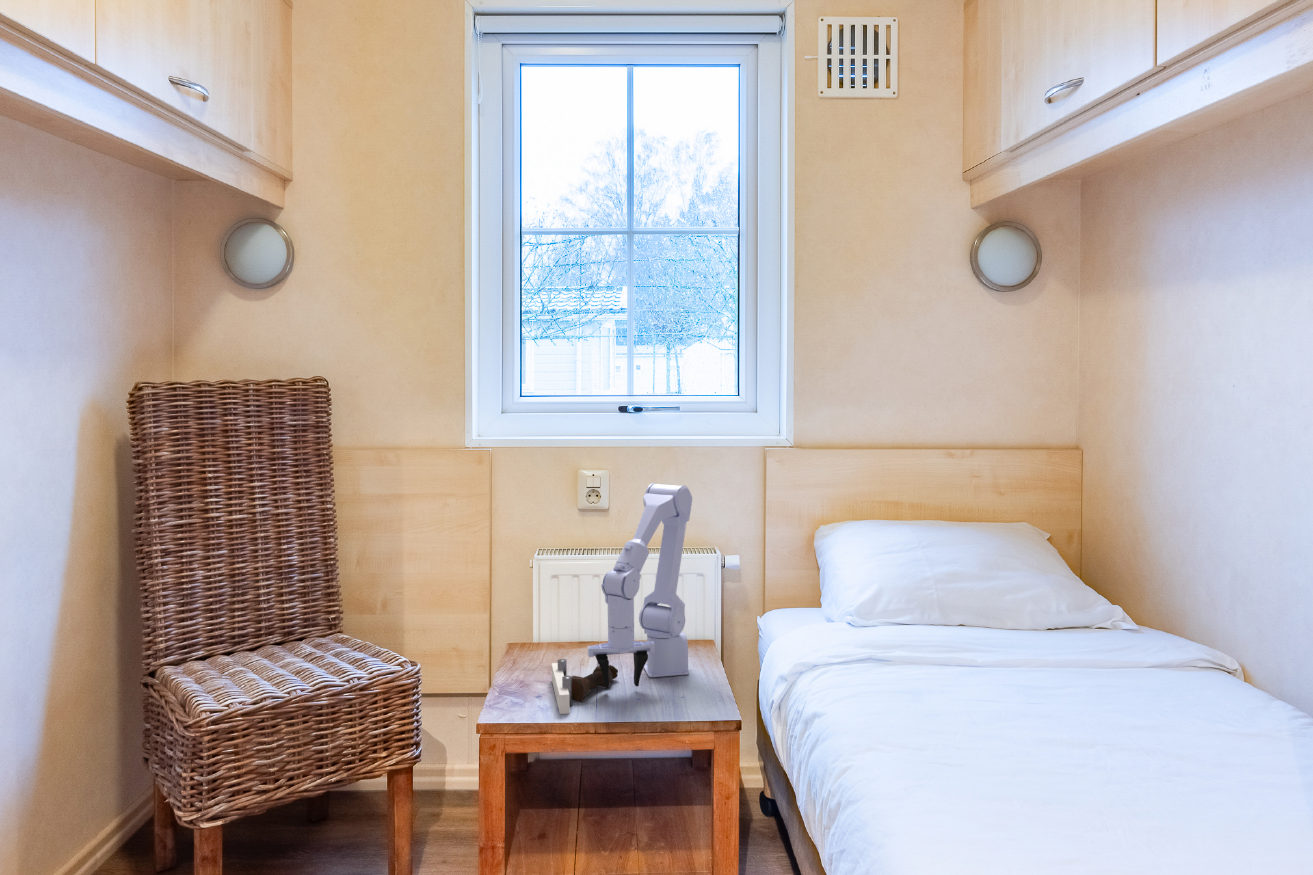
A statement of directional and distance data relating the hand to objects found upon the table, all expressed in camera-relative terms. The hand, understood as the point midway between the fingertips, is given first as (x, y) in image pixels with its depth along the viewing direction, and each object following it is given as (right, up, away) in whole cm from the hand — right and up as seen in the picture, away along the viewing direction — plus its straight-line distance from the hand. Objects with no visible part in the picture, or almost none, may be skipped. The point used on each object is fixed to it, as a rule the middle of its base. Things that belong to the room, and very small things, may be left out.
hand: (621, 685), depth 180 cm
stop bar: (-13, -2, -2) cm, 14 cm away
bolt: (-6, -2, +2) cm, 7 cm away
